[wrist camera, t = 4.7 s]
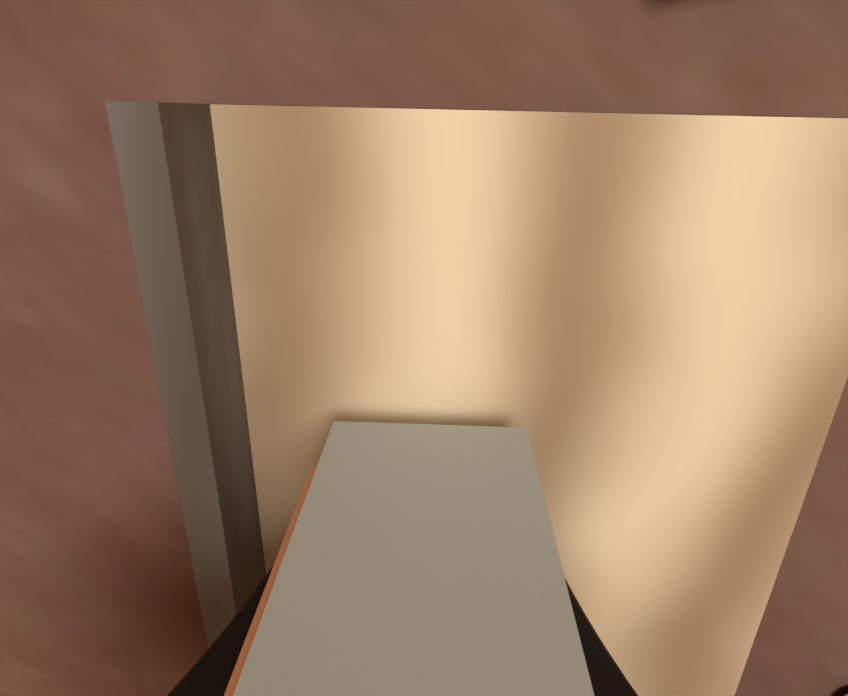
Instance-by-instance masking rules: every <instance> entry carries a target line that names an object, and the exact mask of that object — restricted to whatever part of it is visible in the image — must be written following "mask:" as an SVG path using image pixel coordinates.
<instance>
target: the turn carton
mask: <svg viewBox="0 0 848 696" xmlns="http://www.w3.org/2000/svg"><path fill="white" fill-rule="evenodd" d="M224 696H594V692H593V688H592V684H591V680H590V676H589V672H588V668H587V664H586V660H585V656H584V652H583V648H582V644H581V640H580V637H579V633H578V629H577V625H576V621H575V617H574V613H573V609H572V605H571V601H570V597H569V593H568V589H567V585H566V581H565V577H564V573H563V569H562V565H561V561H560V557H559V553H558V549H557V545H556V541H555V537H554V533H553V529H552V525H551V521H550V517H549V513H548V509H547V505H546V501H545V498H544V494H543V490H542V486H541V482H540V478H539V474H538V470H537V466H536V462H535V458H534V454H533V450H532V446H531V442H530V438H529V434H528V430H527V428H521V427H493V426H464V425H435V424H407V423H378V422H350V421H333V424H332V427H331V430H330V432H329V435H328V438H327V440H326V443H325V446H324V449H323V451H322V454H321V457H320V460H319V462H318V465H312V466H311V469H310V472H309V474H308V477H307V480H306V482H305V485H304V487H303V490H302V493H301V495H300V498H299V500H298V503H297V506H296V508H295V511H294V514H293V516H292V519H291V521H290V524H289V527H288V529H287V532H286V534H285V537H284V540H283V542H282V545H281V548H280V550H279V553H278V555H277V558H276V561H275V563H274V566H273V568H272V571H271V574H270V576H269V579H268V581H267V584H266V587H265V589H264V592H263V595H262V597H261V600H260V602H259V605H258V608H257V610H256V613H255V615H254V618H253V621H252V623H251V626H250V629H249V631H248V634H247V636H246V639H245V642H244V644H243V647H242V649H241V652H240V655H239V657H238V660H237V663H236V665H235V668H234V670H233V673H232V676H231V678H230V681H229V683H228V686H227V689H226V691H225V694H224Z"/></svg>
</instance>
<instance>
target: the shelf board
mask: <svg viewBox="0 0 848 696" xmlns="http://www.w3.org/2000/svg"><path fill="white" fill-rule="evenodd" d="M105 102H106V108H107V113H108V118H109V124H110V129H111V134H112V140H113V145H114V151H115V156H116V161H117V167H118V172H119V177H120V183H121V188H122V193H123V199H124V204H125V209H126V215H127V220H128V225H129V231H130V236H131V241H132V247H133V252H134V257H135V263H136V268H137V273H138V279H139V284H140V289H141V295H142V300H143V305H144V311H145V316H146V321H147V327H148V332H149V338H150V343H151V348H152V354H153V359H154V364H155V370H156V375H157V380H158V386H159V391H160V396H161V402H162V407H163V412H164V418H165V423H166V428H167V434H168V439H169V444H170V450H171V455H172V460H173V466H174V471H175V476H176V482H177V487H178V492H179V498H180V503H181V508H182V514H183V519H184V524H185V530H186V535H187V541H188V546H189V551H190V557H191V562H192V567H193V573H194V578H195V583H196V589H197V594H198V599H199V605H200V610H201V615H202V621H203V626H204V631H205V637H206V642H207V647H208V649H209V648H210V646H211V645H212V644H213V643H214V641H215V640H216V639H217V638H218V637H219V635H220V634H221V633H222V632H223V630H224V629H225V628H226V627H227V625H228V624H229V623H230V622H231V621H232V619H233V618H234V617H235V616H236V614H237V613H238V612H239V610H240V609H241V608H242V606H243V605H244V604H245V603H246V601H247V600H248V599H249V597H250V596H251V595H252V593H253V592H254V591H255V589H256V588H257V587H258V585H259V584H260V582H261V581H262V580H263V578H264V577H265V575H266V574H267V573H268V571H269V570H270V568H271V567H272V566H273V564H274V563H275V561H276V558H277V555H278V553H279V550H280V548H281V545H282V542H283V540H284V537H285V534H286V532H287V529H288V527H289V524H290V521H291V519H292V516H293V514H294V511H295V508H296V506H297V503H298V500H299V498H300V495H301V493H302V490H303V487H304V485H305V482H306V480H307V477H308V474H309V472H310V469H311V466H312V465H318V462H319V460H320V457H321V454H322V451H323V449H324V446H325V443H326V440H327V438H328V435H329V432H330V430H331V427H332V424H333V421H350V422H378V423H407V424H435V425H464V426H493V427H521V428H527V430H528V434H529V438H530V442H531V446H532V450H533V454H534V458H535V462H536V466H537V470H538V474H539V478H540V482H541V486H542V490H543V494H544V498H545V501H546V505H547V509H548V513H549V517H550V521H551V525H552V529H553V533H554V537H555V541H556V545H557V549H558V553H559V557H560V561H561V565H562V569H563V573H564V577H565V579H566V581H567V582H568V584H569V586H570V588H571V590H572V592H573V594H574V595H575V597H576V599H577V601H578V602H579V604H580V606H581V608H582V609H583V611H584V613H585V615H586V616H587V618H588V620H589V621H590V623H591V624H592V626H593V628H594V629H595V631H596V633H597V634H598V636H599V638H600V639H601V641H602V642H603V644H604V646H605V647H606V649H607V650H608V652H609V653H610V655H611V656H612V658H613V659H614V661H615V662H616V664H617V665H618V667H619V668H620V670H621V671H622V673H623V674H624V676H625V677H626V679H627V680H628V682H629V683H630V685H631V686H632V687H633V689H634V690H635V692H636V693H637V695H638V696H734V695H735V692H736V689H737V686H738V684H739V681H740V678H741V675H742V672H743V670H744V667H745V664H746V661H747V658H748V656H749V653H750V650H751V647H752V644H753V641H754V639H755V636H756V633H757V630H758V627H759V625H760V622H761V619H762V616H763V613H764V611H765V608H766V605H767V602H768V599H769V597H770V594H771V591H772V588H773V585H774V582H775V580H776V577H777V574H778V571H779V568H780V566H781V563H782V560H783V557H784V554H785V552H786V549H787V546H788V543H789V540H790V538H791V535H792V532H793V529H794V526H795V523H796V521H797V518H798V515H799V512H800V509H801V507H802V504H803V501H804V498H805V495H806V493H807V490H808V487H809V484H810V481H811V479H812V476H813V473H814V470H815V467H816V464H817V462H818V459H819V456H820V453H821V450H822V448H823V445H824V442H825V439H826V436H827V434H828V431H829V428H830V425H831V422H832V420H833V417H834V414H835V411H836V408H837V405H838V403H839V400H840V397H841V394H842V391H843V389H844V386H845V383H846V380H847V377H848V119H844V118H799V117H753V116H708V115H663V114H618V113H573V112H528V111H483V110H437V109H392V108H347V107H302V106H257V105H212V104H186V103H162V102H120V101H105Z"/></svg>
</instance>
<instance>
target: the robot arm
mask: <svg viewBox="0 0 848 696" xmlns="http://www.w3.org/2000/svg"><path fill="white" fill-rule="evenodd" d="M273 566H274V564H273ZM273 566H272V567H271V568H270V570H269V571H268V573H267V574H266V575H265V577H264V578H263V580H262V581H261V582H260V584H259V585H258V587H257V588H256V589H255V591H254V592H253V593H252V595H251V596H250V597H249V599H248V600H247V601H246V603H245V604H244V605H243V606H242V608H241V609H240V610H239V612H238V613H237V614H236V616H235V617H234V618H233V619H232V621H231V622H230V623H229V624H228V625H227V627H226V628H225V629H224V630H223V632H222V633H221V634H220V635H219V637H218V638H217V639H216V640H215V641H214V643H213V644H212V645H211V646H210V648H209V649H208V650H207V651H206V652H205V654H204V655H203V656H202V657H201V658H200V659H199V661H198V662H197V663H196V664H195V665H194V666H193V667H192V668H191V670H190V671H189V672H188V673H187V674H186V675H185V676H184V677H183V679H182V680H181V681H180V682H179V683H178V684H177V685H176V686H175V688H174V689H173V690H172V691H171V692H170V693H169V694H168V695H167V696H224V694H225V691H226V689H227V686H228V683H229V681H230V678H231V676H232V673H233V670H234V668H235V665H236V663H237V660H238V657H239V655H240V652H241V649H242V647H243V644H244V642H245V639H246V636H247V634H248V631H249V629H250V626H251V623H252V621H253V618H254V615H255V613H256V610H257V608H258V605H259V602H260V600H261V597H262V595H263V592H264V589H265V587H266V584H267V581H268V579H269V576H270V574H271V571H272V568H273ZM565 581H566V579H565ZM566 585H567V589H568V593H569V597H570V601H571V605H572V609H573V613H574V617H575V621H576V625H577V629H578V633H579V637H580V640H581V644H582V648H583V652H584V656H585V660H586V664H587V668H588V672H589V676H590V680H591V684H592V688H593V692H594V696H638V695H637V693H636V692H635V690H634V689H633V687H632V686H631V685H630V683H629V682H628V680H627V679H626V677H625V676H624V674H623V673H622V671H621V670H620V668H619V667H618V665H617V664H616V662H615V661H614V659H613V658H612V656H611V655H610V653H609V652H608V650H607V649H606V647H605V646H604V644H603V642H602V641H601V639H600V638H599V636H598V634H597V633H596V631H595V629H594V628H593V626H592V624H591V623H590V621H589V620H588V618H587V616H586V615H585V613H584V611H583V609H582V608H581V606H580V604H579V602H578V601H577V599H576V597H575V595H574V594H573V592H572V590H571V588H570V586H569V584H568V582H567V581H566ZM844 696H848V693H847V694H846V695H844Z"/></svg>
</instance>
